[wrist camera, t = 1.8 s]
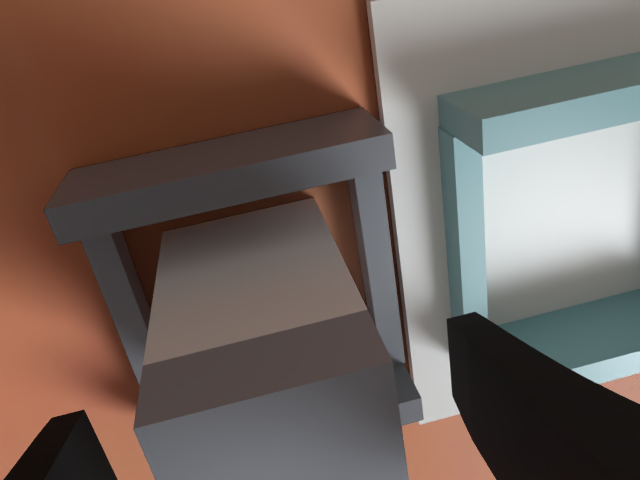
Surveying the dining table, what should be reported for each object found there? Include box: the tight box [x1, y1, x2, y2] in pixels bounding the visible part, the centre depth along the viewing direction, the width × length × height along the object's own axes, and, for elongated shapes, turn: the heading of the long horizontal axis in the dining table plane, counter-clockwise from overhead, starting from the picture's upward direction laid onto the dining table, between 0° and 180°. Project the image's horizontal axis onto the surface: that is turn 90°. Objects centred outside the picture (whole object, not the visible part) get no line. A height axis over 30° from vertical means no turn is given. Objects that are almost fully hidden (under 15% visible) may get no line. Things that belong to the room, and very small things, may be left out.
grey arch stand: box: [44, 107, 424, 426], centre depth 15 cm, size 7×8×2 cm
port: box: [366, 0, 640, 425], centre depth 15 cm, size 10×13×3 cm
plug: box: [133, 198, 409, 480], centre depth 13 cm, size 4×4×7 cm
